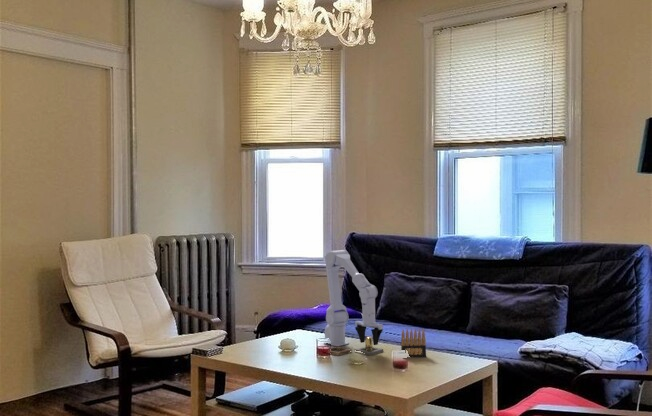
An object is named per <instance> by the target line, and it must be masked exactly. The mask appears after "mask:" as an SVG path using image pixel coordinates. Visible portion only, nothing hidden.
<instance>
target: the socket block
mask: <svg viewBox="0 0 652 416" xmlns="http://www.w3.org/2000/svg"><path fill="white" fill-rule="evenodd" d="M355 350H356V351H361V352H363V353H365V354H364V355H367V356H374V355H377V354H380V353H383V352H384V348H379V347H375V346H374V347H373V351H365V346H363V347H362V346H361V347H360V348H355V349H354V351H355Z"/></svg>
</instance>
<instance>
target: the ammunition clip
mask: <svg viewBox="0 0 652 416" xmlns="http://www.w3.org/2000/svg"><path fill="white" fill-rule="evenodd" d="M400 343H401V344H400V345H401V347H400V351H401V350H405V351H406V350H407V351H408V354H409V356H410V357H411V358H427V348H426V346H427V345H426V333H425V329H424V328H423V329H422V332H421V328H419V329H418V332H417V329H416V328H415V329H414V332H413V329H412V328H411V329H410V332H409V330H408V329H407V328H406V331H405V330H404V329H402V331H401V341H400Z"/></svg>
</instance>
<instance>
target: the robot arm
mask: <svg viewBox="0 0 652 416" xmlns="http://www.w3.org/2000/svg"><path fill="white" fill-rule="evenodd" d="M324 255H325V256H324V262H325V269H326V279H327V287H328V297H329V304H330V305H329V306H328V307H327V308H326V310H325V311H326V315H325V321H326V323H327V325H325V328H324V339H325V338H329V339H330V341H331V345H330V346H332V347H336V346H337V347H341V346H344V345H349V344H350V342H347V341H346V325H347V323H348V322H349V313H348V310H347V306H345V305H344V304H343V302H342V294H341V285H340V278H339V276H340V275H339V270H340V269H341V267H342V268H344V269H345V271H346V272H347V273H348V274H349V275H350V277H351V281H352V283H353V285H354V286H355V287H356V289H357V290H358V291H359V293H358V294H359V295H358V296H359V298H360V302H361V307H362V309H361V313H362V315H361V317H362V319H361V320H355V321H354V323H355V325H354V326H355V327H354V329H355V331H356V332H357V335H358V337H359V342H360V344H361V343H363V344H364V343H365V337H366V329H367V328H371V330H370V331H371V335H372V341H373V346H378V345H379V340H380V338H381V335H382V332H383V329H384V325H383V324H382V323H378V322H376V298H377V297H378V294H379V292H378V288H377V286H375V285H374V284H372V283H370V282H369V281H368V279H367V278H366V276H365V275H364V273H362V272H361V273H359V271H358V269H357V268H356V266H355V264H354V263H353V262H352V260H351V254H350V253H349V252H348V251H347V249H341V250H329V251H327V253H326V254H324Z"/></svg>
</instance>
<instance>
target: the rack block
mask: <svg viewBox="0 0 652 416" xmlns="http://www.w3.org/2000/svg"><path fill="white" fill-rule="evenodd" d="M330 348H331V351H330V353H331V354H330V355H331V356H332V355H333V356H337V357H338V356H343V355H346V354H350V353H351V352H350V351H352V349H350V348H347V347H341V346H332V347H330ZM349 352H350V353H349Z"/></svg>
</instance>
